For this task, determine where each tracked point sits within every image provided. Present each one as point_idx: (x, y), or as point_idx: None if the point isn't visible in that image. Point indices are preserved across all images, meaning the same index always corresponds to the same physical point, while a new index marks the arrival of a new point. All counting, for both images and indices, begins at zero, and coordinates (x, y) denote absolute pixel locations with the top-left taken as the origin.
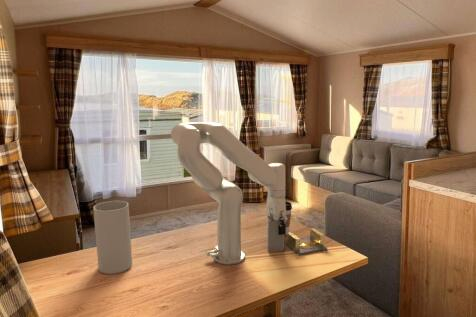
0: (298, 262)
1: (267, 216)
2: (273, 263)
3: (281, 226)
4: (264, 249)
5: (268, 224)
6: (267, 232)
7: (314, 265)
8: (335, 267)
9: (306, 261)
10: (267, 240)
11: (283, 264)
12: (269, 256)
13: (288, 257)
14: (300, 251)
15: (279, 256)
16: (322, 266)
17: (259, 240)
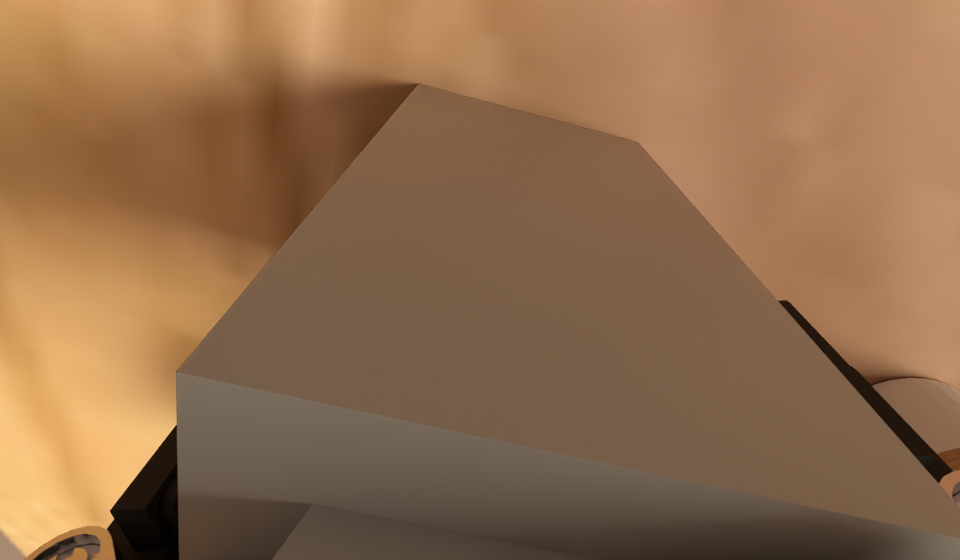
0: (82, 322)
1: (928, 503)
2: (17, 28)
3: (93, 557)
4: (478, 42)
5: (257, 275)
6: (642, 202)
7: (34, 424)
8: (22, 536)
9: (113, 395)
10: (591, 149)
11: (8, 151)
12: (236, 42)
13: (202, 270)
14: None
15: (231, 179)
16: (25, 470)
17: (822, 67)
